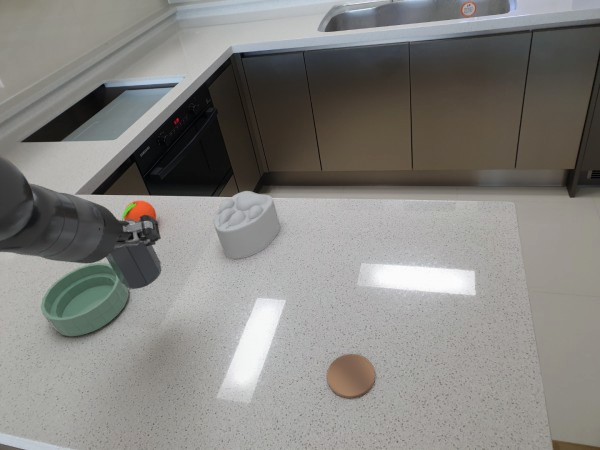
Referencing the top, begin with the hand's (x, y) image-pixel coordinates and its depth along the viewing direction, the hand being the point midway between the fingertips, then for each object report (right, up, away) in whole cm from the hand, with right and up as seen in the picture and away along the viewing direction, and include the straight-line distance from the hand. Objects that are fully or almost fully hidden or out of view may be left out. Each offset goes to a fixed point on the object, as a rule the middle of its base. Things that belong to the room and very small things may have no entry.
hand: (131, 242), depth 69 cm
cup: (+1, -5, +2) cm, 5 cm away
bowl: (-14, -13, +18) cm, 26 cm away
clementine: (-10, +2, +36) cm, 38 cm away
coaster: (+33, -19, -4) cm, 38 cm away
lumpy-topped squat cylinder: (+15, 0, +26) cm, 30 cm away
